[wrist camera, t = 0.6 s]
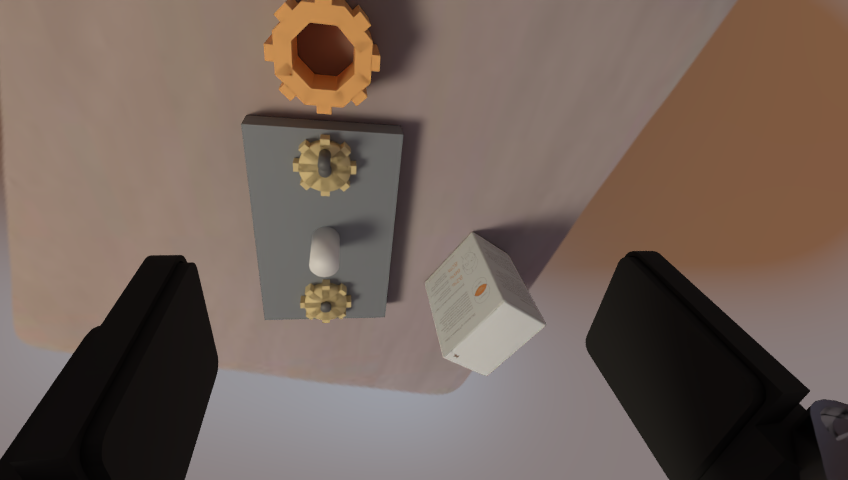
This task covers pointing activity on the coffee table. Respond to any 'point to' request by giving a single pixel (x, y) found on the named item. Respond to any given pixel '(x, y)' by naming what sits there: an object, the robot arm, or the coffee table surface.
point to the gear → (325, 91)
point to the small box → (481, 306)
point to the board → (322, 214)
